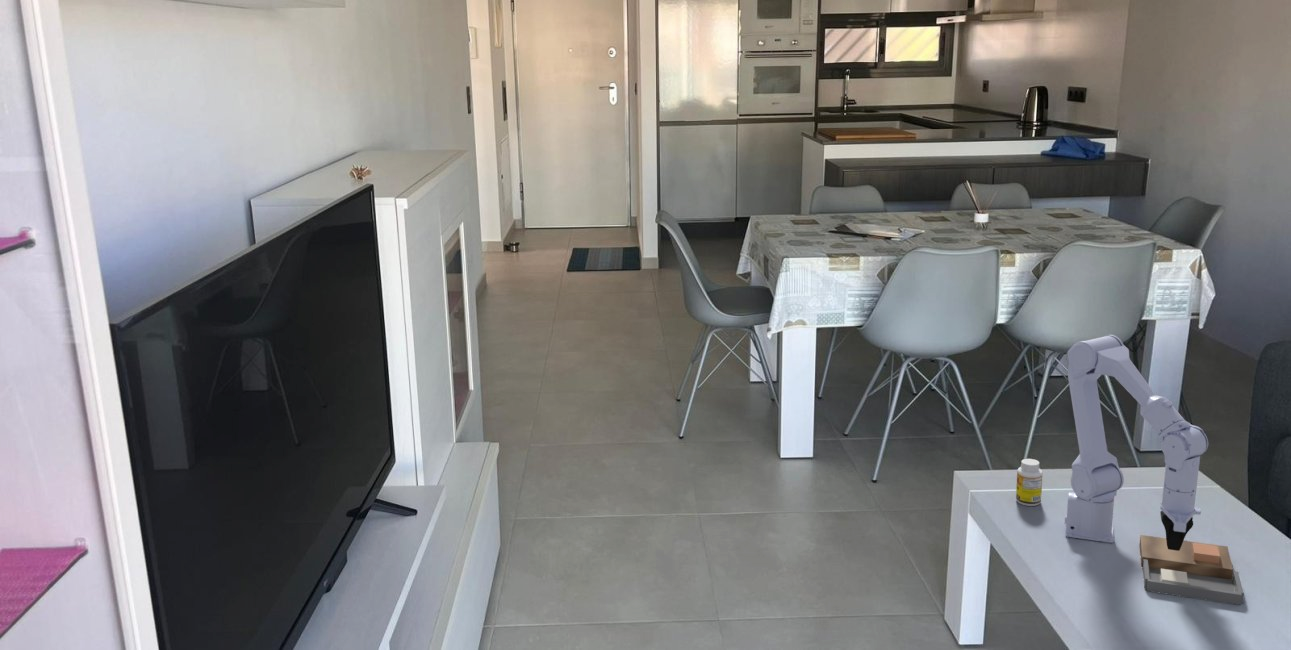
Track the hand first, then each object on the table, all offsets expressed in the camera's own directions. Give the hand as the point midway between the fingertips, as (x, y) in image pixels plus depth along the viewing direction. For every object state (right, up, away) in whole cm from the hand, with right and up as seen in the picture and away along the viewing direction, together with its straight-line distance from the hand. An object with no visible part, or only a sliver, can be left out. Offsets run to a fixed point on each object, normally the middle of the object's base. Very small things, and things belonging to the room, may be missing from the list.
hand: (1173, 548), depth 195 cm
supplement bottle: (-16, +3, +34) cm, 38 cm away
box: (+1, -6, -4) cm, 8 cm away
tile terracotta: (+7, -2, +1) cm, 7 cm away
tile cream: (-2, -4, -4) cm, 7 cm away
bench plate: (+4, -4, +4) cm, 7 cm away
